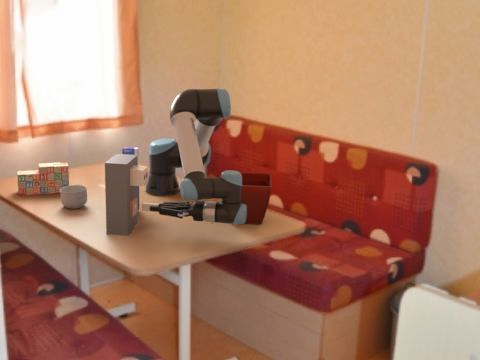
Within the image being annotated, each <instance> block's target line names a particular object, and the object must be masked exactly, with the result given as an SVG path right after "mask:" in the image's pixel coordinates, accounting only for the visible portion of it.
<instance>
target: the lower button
mask: <svg viewBox="0 0 480 360" xmlns="http://www.w3.org/2000/svg"><path fill="white" fill-rule="evenodd" d="M137 212H138V213H139V210H138V197H137V196H134V197H133V198H132V199H131V200H130V217H134V215H135V214H136V213H137Z"/></svg>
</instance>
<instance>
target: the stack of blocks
mask: <svg viewBox="0 0 480 360" xmlns="http://www.w3.org/2000/svg"><path fill="white" fill-rule="evenodd" d="M69 180H70V172H69V164H68V162H46V163H43V162H42V163H38V169H36V170H17V188H18V189H17V190H18V195H19V196H27V195H41V194H42V195H44V194H45V195H46V194H59V193H60V189H61V188H63V187H66V186H70V181H69Z"/></svg>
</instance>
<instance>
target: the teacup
mask: <svg viewBox="0 0 480 360" xmlns="http://www.w3.org/2000/svg"><path fill="white" fill-rule="evenodd" d="M60 200H61V204H62V205H63V206H64V207H65V208H67V209H69V208H70V209H71V210H72V209H73V210H75V209H81V208H83V207H84V206H85V205H86V204H87V202H88V187H87V186H86V185H82V184H80V183H77V184H69V186H66V187H63V188H61V189H60ZM70 209H69V210H70Z"/></svg>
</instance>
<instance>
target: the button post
mask: <svg viewBox="0 0 480 360" xmlns="http://www.w3.org/2000/svg"><path fill="white" fill-rule="evenodd" d="M134 165H135V166H139V157H138V158H137V155H128V154H122V153H116V154H114V155H113V156H112V157H111V158H109V159H108V160H106V161H105V162H104V177H105V178H104V181H105V183H104V186H105V188H104V190H105V229H106V230H105V231H106V235H115V236H117V235H118V236H127V237H128V236H129V235H130V234H131V233H132V231H133V230H134V229H135V227H137V225H138V224H139V211H138V212H137V213H136V214H135V215H134V217H130V200H131V199H132V198H133V197H134V196H137V197H138V186H130V168H131V167H133V166H134Z"/></svg>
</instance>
